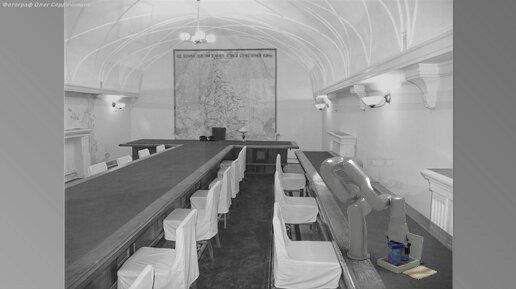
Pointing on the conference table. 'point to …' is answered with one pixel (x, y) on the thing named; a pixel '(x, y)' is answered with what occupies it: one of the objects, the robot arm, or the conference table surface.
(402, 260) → the ink cartridge box
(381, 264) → the case
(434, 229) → the conference table surface
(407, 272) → the board
